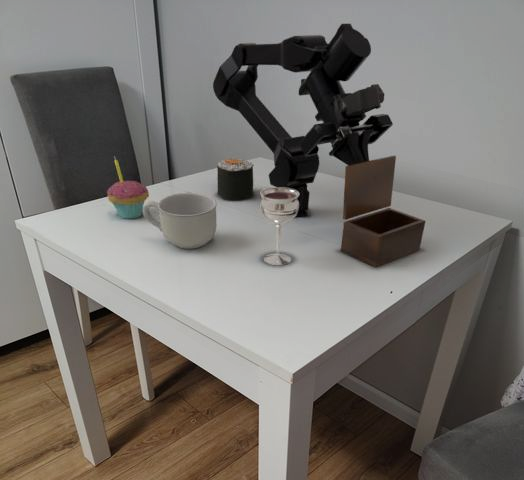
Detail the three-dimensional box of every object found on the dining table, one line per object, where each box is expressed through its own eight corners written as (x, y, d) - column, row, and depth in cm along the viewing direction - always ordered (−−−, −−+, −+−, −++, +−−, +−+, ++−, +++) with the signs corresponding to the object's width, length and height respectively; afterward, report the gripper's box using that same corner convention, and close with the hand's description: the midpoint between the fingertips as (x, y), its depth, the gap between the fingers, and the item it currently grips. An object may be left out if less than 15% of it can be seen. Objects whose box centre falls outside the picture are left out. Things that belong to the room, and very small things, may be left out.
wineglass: (251, 257, 89) (251, 191, 82) (280, 248, 92) (282, 184, 86) (274, 270, 85) (276, 202, 78) (303, 261, 88) (308, 194, 81)
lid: (396, 155, 89) (393, 155, 90) (348, 166, 83) (345, 166, 84) (390, 206, 94) (388, 205, 95) (345, 219, 88) (342, 219, 88)
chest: (419, 250, 93) (425, 220, 89) (375, 267, 86) (380, 236, 83) (384, 235, 98) (389, 207, 95) (340, 251, 92) (343, 221, 88)
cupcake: (102, 218, 104) (92, 159, 97) (126, 205, 111) (117, 150, 104) (136, 224, 102) (128, 164, 95) (158, 211, 108) (152, 154, 101)
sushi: (228, 202, 113) (227, 167, 109) (213, 192, 119) (211, 158, 115) (258, 197, 117) (259, 162, 112) (242, 187, 123) (242, 154, 118)
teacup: (226, 236, 97) (225, 196, 92) (203, 258, 89) (201, 215, 84) (164, 227, 101) (159, 188, 96) (136, 247, 92) (130, 205, 88)
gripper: (316, 70, 77) (359, 157, 77) (393, 64, 87) (431, 141, 86) (283, 116, 87) (321, 194, 86) (355, 106, 96) (389, 176, 96)
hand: (367, 175), depth 88 cm, fingers closed, pressing on lid
